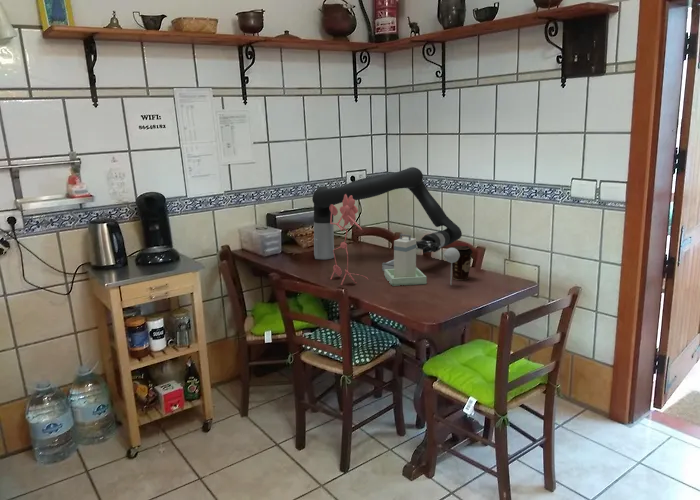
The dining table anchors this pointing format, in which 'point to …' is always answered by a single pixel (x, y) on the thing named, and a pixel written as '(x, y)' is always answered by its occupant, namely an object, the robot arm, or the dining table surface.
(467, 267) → the coffee cup
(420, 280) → the tray
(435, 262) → the dining table surface
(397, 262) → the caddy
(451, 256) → the lollipop
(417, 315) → the dining table surface
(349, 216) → the figurine
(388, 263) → the bay
